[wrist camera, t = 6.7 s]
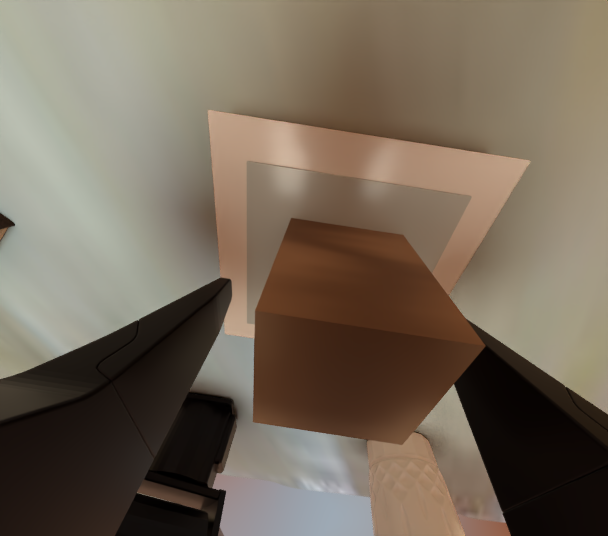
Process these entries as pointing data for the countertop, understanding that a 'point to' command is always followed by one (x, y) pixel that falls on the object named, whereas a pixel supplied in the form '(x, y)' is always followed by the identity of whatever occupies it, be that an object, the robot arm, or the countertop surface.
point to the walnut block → (354, 335)
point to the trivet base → (344, 197)
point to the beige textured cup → (409, 491)
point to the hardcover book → (4, 225)
